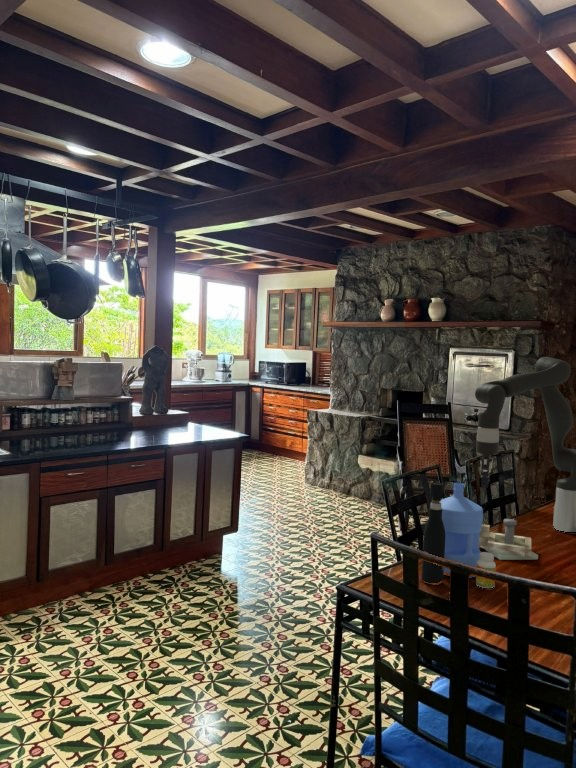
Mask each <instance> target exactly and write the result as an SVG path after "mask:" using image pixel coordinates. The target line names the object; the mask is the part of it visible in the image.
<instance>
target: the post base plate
mask: <svg viewBox="0 0 576 768" xmlns="http://www.w3.org/2000/svg"><path fill="white" fill-rule="evenodd" d="M503 524H504V530H505V531H504V534H505V541H504V544H511V545H513V544H514V536H515V527H516V525H517V524H518V521H517V520H516V519H514V518H513V519H512V518H504V519H503ZM480 547H481V548H482V549H484V550H485V552H488V553H492V554H493V555H494V558H496V559H498V560H499V561H502V560H505V561H506V560H507V561H511V560H512V561H513V560H514V561H515V560H521V561H522V560H523V561H524V560H525V561H526V560H527V561H528V560H531V561H532V560H538V559H539V554H537V553H535V552H534V551H532V550H531V558H528V557H521V556H515V555H508V554H502V553H495V552H489V551H487V546H480Z"/></svg>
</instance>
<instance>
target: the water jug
mask: <svg viewBox="0 0 576 768" xmlns="http://www.w3.org/2000/svg"><path fill="white" fill-rule="evenodd" d="M464 486H465V484H464V483H462V482H454V483H453V494H452V495H451V496H449V497H446V498H441V501H440V503H441V504H442V506H441V507H442V508H441V509H442V521H443V524H444V528H445V556H444V558H446V559H449V560H453V561H457V562H461V563H465V564H468V565H472V566H475V567H477V561H478V560H479V559H480V553H481V552H482V551H481V550H480V545H479V534H480V531H481V530H482V524H483V522H484V508H483V507H482V506H480V505H479V504H477V503H475V502H474V501H472V500H470V499H468V498H467V497H465V496H464V495H465V494H464V491H465V489H464ZM444 572H447V573H449V574H450V570H449V569H447V568H444ZM472 577H473V578H476V576H470V578H469V579H472Z"/></svg>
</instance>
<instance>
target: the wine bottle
mask: <svg viewBox="0 0 576 768" xmlns="http://www.w3.org/2000/svg"><path fill="white" fill-rule="evenodd" d="M444 488H445V487H444V483H443V482H438V481H432V482H430V488H429V495H431V502H430V507H429V509H428V512H429V513H428V519H427V521H426V524H425V526H424V530H423V539H422V551H423V550H424V551H426V552H428V553H429V554H432V555H435V556H438V557H442V558H444V556H445V528H444V524H443V521H442V509H441V508H442V507H441V506H442V504H441V503H440V501H441V500H442V498H441V497H442V496H444ZM443 575H444V567H442V566H438V565H436V564H433V563H429V562H426V561H423V560H422V561H421V575H420V577H421V579H422V580H423V581H425V582H428V583H438V582H440V581H442V580H443V581H444V576H443ZM421 579H420V580H421Z"/></svg>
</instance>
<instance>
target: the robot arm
mask: <svg viewBox="0 0 576 768" xmlns="http://www.w3.org/2000/svg"><path fill="white" fill-rule="evenodd" d="M570 375H571V365H570V364H569V363H568V362H566V361H565V360H562V359H559V358H554V357H549V356H542V357H540V358H539V359H538V360H537V361H536V363H535V366H534V371H533V372H532V371H531V372H524V373H518V374H514V375H511V376H507V377H505V378H503V379H499V380H493V381H489V382H484V383H482V384H480V385H478V386H477V388H476V389H475V391H474V396H475V398H476V401H478V402H480V403H481V404H485V405H486V404H487V406H486V409H484V410H481V411H480V412H479V413H478V421H477V423H478V424H477V432H476V442H475V443H476V446H475V447H476V448H475V451H476V453H478V454H480V455H482V457H480V460H479V461H480V467H479V468H480V477H481V484H480V487H481V488H484V489H486V488H487V489H488V487H489V483H490V478H491V477H490V476H491V472H492V469H493V463H494V458H492V456H495V455H498V454H499V447H500V446H499V445H500V442H499V441H500V429H499V428H500V417H501V413H502V410H503V408H504V405H505V401H506V398H513V397H514V396H517V395H520V394H522V393H525V392H528V391H532V390H535V389H536V390H537V389H540V392H541V396H542V402H543V406H544V409H545V416H546V422H547V425H548V429H549V435H550V441H551V447H552V448H551V450H552V459H553V464H554V467H555V469H557V470H558V471H563V472H569V473H571V474H570V476H569V477H566V478H565V477H564V478H560V479H557V481H556V488H555V504H554V505H553V519H552V520H553V521H552V527H553V526H554V527H553V529H554V528H555V529H556V531H557V530H559V531H558V532H560V531H564V532H563V533H565V532H576V449H575V448H568V447H567V448H566V447H565V446H564V441H565V438H566V436H567V435H568V434H569V433H570V431H571V430H572V428H573V425H574V416H573V411H572V408H571V405H570V403H569V402H568V401H567V399H566V398H565V397H564V395H563V394H562V392H561V391H560V389H559V388H558V386H557V385H560V384H564V383H565V382H567V380H568V379H569V378H570ZM555 529H554V530H555Z"/></svg>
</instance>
